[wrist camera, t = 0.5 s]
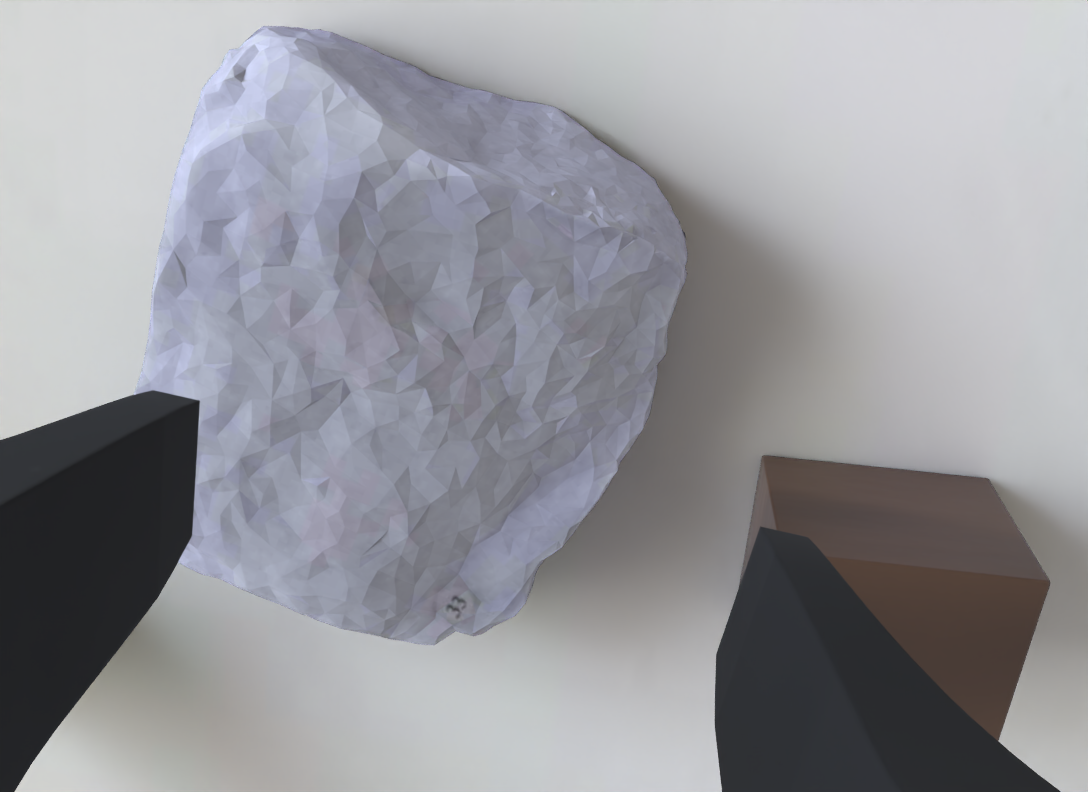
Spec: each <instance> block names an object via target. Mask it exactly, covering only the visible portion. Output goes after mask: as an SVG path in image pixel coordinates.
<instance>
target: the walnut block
mask: <svg viewBox="0 0 1088 792" xmlns="http://www.w3.org/2000/svg"><path fill="white" fill-rule="evenodd" d="M760 526H761V527H765V528H769V529H774V530H778V531H783V532H787V533H792V534H796V535H801V536H805V537H808V538H809V539H810V540H811V541H812V542H813V543H814V544H815V545H816V546H817V547H818V548H819V549H820V551H821V552H822V553H823V554H824V555H825V556H826V558H827V559H828V560H829V561H830V562H831V564H832V565H833V566H834V567H835V569H836V570H837V571H838V572H839V573H840V575H841V576H842V577H843V578H844V580H845V581H846V582H847V583H848V584H849V586H850V587H851V588H852V589H853V591H854V592H855V593H856V594H857V595H858V597H859V598H860V599H861V600H862V601H863V603H864V604H865V605H866V606H867V607H868V609H869V610H870V611H871V612H872V613H873V615H874V616H875V617H876V618H877V619H878V620H879V622H880V623H881V624H882V625H883V626H884V627H885V629H886V630H887V631H888V632H889V633H890V634H891V635H892V637H893V638H894V639H895V640H896V641H897V642H898V643H899V644H900V646H901V647H902V648H903V649H904V650H905V651H906V652H907V653H908V654H909V655H910V657H911V658H912V659H913V660H914V661H915V662H916V663H917V664H918V665H919V666H920V667H921V668H922V669H923V670H924V671H925V672H926V673H927V674H928V675H929V676H930V677H931V678H932V680H933V681H934V682H935V683H936V684H937V685H938V686H939V687H940V688H941V689H942V690H943V691H944V692H945V693H946V694H947V695H948V696H949V697H950V698H951V699H952V700H953V701H954V702H955V703H956V704H957V705H958V706H960V707H961V708H962V709H963V710H964V711H965V712H966V713H967V714H968V715H969V716H970V717H971V718H972V719H974V720H975V721H976V722H977V723H978V724H979V725H980V726H981V727H983V728H984V729H985V730H986V731H987V732H988V733H989V734H990V735H992V736H993V737H994V738H995V739H996V740H997V741H998V740H999V737H1000V734H1001V731H1002V728H1003V725H1004V722H1005V719H1006V716H1007V713H1008V710H1009V707H1010V704H1011V701H1012V698H1013V695H1014V692H1015V689H1016V686H1017V683H1018V680H1019V677H1020V674H1021V671H1022V668H1023V665H1024V662H1025V658H1026V655H1027V652H1028V649H1029V646H1030V643H1031V640H1032V637H1033V634H1034V631H1035V628H1036V625H1037V622H1038V619H1039V616H1040V613H1041V610H1042V607H1043V604H1044V601H1045V598H1046V595H1047V592H1048V589H1049V586H1050V581H1049V579H1048V577H1047V576H1046V574H1045V572H1044V571H1043V569H1042V567H1041V566H1040V564H1039V562H1038V561H1037V559H1036V557H1035V556H1034V554H1033V552H1032V551H1031V549H1030V547H1029V546H1028V544H1027V542H1026V541H1025V539H1024V537H1023V536H1022V534H1021V532H1020V531H1019V529H1018V527H1017V526H1016V524H1015V522H1014V521H1013V519H1012V517H1011V516H1010V514H1009V512H1008V511H1007V509H1006V507H1005V506H1004V504H1003V502H1002V501H1001V499H1000V497H999V496H998V494H997V492H996V491H995V489H994V487H993V486H992V484H991V482H990V481H989V479H987V478H978V477H968V476H959V475H949V474H939V473H929V472H920V471H910V470H900V469H891V468H881V467H871V466H862V465H852V464H842V463H832V462H823V461H813V460H803V459H794V458H784V457H774V456H765V455H764V456H762V459H761V465H760V471H759V476H758V482H757V488H756V493H755V499H754V505H753V511H752V516H751V522H750V528H749V533H748V539H747V545H746V551H745V556H744V562H743V568H742V574H741V579H740V584H741V581H742V578H743V575H744V572H745V569H746V566H747V564H748V561H749V558H750V555H751V552H752V549H753V546H754V543H755V540H756V537H757V534H758V531H759V528H760ZM739 587H740V585H739Z"/></svg>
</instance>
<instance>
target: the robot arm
mask: <svg viewBox="0 0 1088 792" xmlns="http://www.w3.org/2000/svg"><path fill="white" fill-rule="evenodd" d="M199 408H200V400H195V399H191V398H186V397H182V396H177V395H173V394H168V393H164V392H159V391H155V390H151V391H147V392H143V393H139V394H135V395H132V396H128V397H125V398H122V399H119V400H116V401H113V402H110V403H107V404H104V405H101V406H99V407H96V408H93V409H90V410H87V411H84V412H82V413H79V414H76V415H73V416H70V417H67V418H64V419H62V420H59V421H56V422H53V423H50V424H47V425H44V426H41V427H39V428H36V429H33V430H30V431H27V432H24V433H21V434H18V435H15V436H12V437H9V438H6V439H3V440H0V792H14V791H15V790H16V788H17V786H18V785H19V783H20V782H21V780H22V778H23V777H24V775H25V774H26V772H27V770H28V769H29V767H30V765H31V764H32V762H33V761H34V760H35V758H36V757H37V755H38V754H39V752H40V751H41V750H42V748H43V747H44V745H45V744H46V743H47V741H48V740H49V738H50V737H51V736H52V734H53V733H54V731H55V730H56V729H57V727H58V726H59V725H60V724H61V722H62V721H63V720H64V718H65V717H66V716H67V715H68V713H69V712H70V711H71V709H72V708H73V707H74V706H75V704H76V703H77V702H78V700H79V699H80V698H81V697H82V695H83V694H84V693H85V691H86V690H87V689H88V688H89V686H90V685H91V684H92V682H93V681H94V680H95V679H96V677H97V676H98V675H99V674H100V672H101V671H102V670H103V668H104V667H105V666H106V665H107V663H108V662H109V661H110V659H111V658H112V657H113V656H114V654H115V653H116V652H117V650H118V649H119V648H120V647H121V645H122V644H123V643H124V641H125V640H126V639H127V637H128V636H129V635H130V634H131V632H132V631H133V630H134V628H135V627H136V626H137V624H138V623H139V622H140V620H141V619H142V618H143V616H144V615H145V614H146V613H147V611H148V610H149V609H150V607H151V606H152V604H153V603H154V602H155V600H156V599H157V598H158V596H159V594H160V593H161V591H162V589H163V587H164V586H165V584H166V582H167V581H168V579H169V577H170V575H171V574H172V572H173V570H174V568H175V567H176V565H177V563H178V561H179V559H180V557H181V556H182V554H183V552H184V550H185V548H186V546H187V544H188V543H189V541H190V539H191V537H192V529H193V512H194V495H195V477H196V460H197V443H198V425H199ZM715 731H716V740H717V749H718V758H719V767H720V776H721V785H722V792H1061V791H1059V790H1058V789H1057V788H1055V787H1054V786H1053V785H1051V784H1050V783H1049V782H1047V781H1046V780H1045V779H1043V778H1042V777H1041V776H1039V775H1038V774H1037V773H1036V772H1034V771H1033V770H1032V769H1031V768H1029V767H1028V766H1027V765H1026V764H1024V763H1023V762H1022V761H1021V760H1019V759H1018V758H1017V757H1016V756H1015V755H1013V754H1012V753H1011V752H1010V751H1009V750H1007V749H1006V748H1005V747H1004V746H1003V745H1002V744H1001V743H1000V742H998V741H997V740H996V739H995V738H994V737H993V736H992V735H990V734H989V733H988V732H987V731H986V730H985V729H984V728H983V727H981V726H980V725H979V724H978V723H977V722H976V721H975V720H974V719H972V718H971V717H970V716H969V715H968V714H967V713H966V712H965V711H964V710H963V709H962V708H961V707H960V706H958V705H957V704H956V703H955V702H954V701H953V700H952V699H951V698H950V697H949V696H948V695H947V694H946V693H945V692H944V691H943V690H942V689H941V688H940V687H939V686H938V685H937V684H936V683H935V682H934V681H933V680H932V678H931V677H930V676H929V675H928V674H927V673H926V672H925V671H924V670H923V669H922V668H921V667H920V666H919V665H918V664H917V663H916V662H915V661H914V660H913V659H912V658H911V657H910V655H909V654H908V653H907V652H906V651H905V650H904V649H903V648H902V647H901V646H900V644H899V643H898V642H897V641H896V640H895V639H894V638H893V637H892V635H891V634H890V633H889V632H888V631H887V630H886V629H885V627H884V626H883V625H882V624H881V623H880V622H879V620H878V619H877V618H876V617H875V616H874V615H873V613H872V612H871V611H870V610H869V609H868V607H867V606H866V605H865V604H864V603H863V601H862V600H861V599H860V598H859V597H858V595H857V594H856V593H855V592H854V591H853V589H852V588H851V587H850V586H849V584H848V583H847V582H846V581H845V580H844V578H843V577H842V576H841V575H840V573H839V572H838V571H837V570H836V569H835V567H834V566H833V565H832V564H831V562H830V561H829V560H828V559H827V558H826V556H825V555H824V554H823V553H822V552H821V551H820V549H819V548H818V547H817V546H816V545H815V544H814V543H813V542H812V541H811V540H810V539H809V538H808V537H805V536H801V535H796V534H792V533H787V532H783V531H778V530H774V529H769V528H765V527H761V526H760V528H759V531H758V534H757V537H756V540H755V543H754V546H753V549H752V552H751V555H750V558H749V561H748V564H747V566H746V569H745V572H744V575H743V578H742V581H741V584H740V587H739V590H738V593H737V596H736V599H735V602H734V604H733V607H732V610H731V613H730V616H729V619H728V622H727V625H726V628H725V631H724V634H723V637H722V639H721V642H720V645H719V648H718V651H717V654H716V683H715Z"/></svg>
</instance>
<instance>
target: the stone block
mask: <svg viewBox="0 0 1088 792" xmlns="http://www.w3.org/2000/svg"><path fill="white" fill-rule="evenodd" d="M687 257H688V252H687V248H686V241H685V233H684V232H683V231H682V229H681V227H680V222H679V220H678V219H677V217H676V216H675V214H674V213H673V211H672V208H671V205H670V204H669V202H668V201H667V199H666V198H665V197H664V195H663V194H662V192H661V191H660V189H659V187H658V185H657V182H656V180H655V179H654V178H652V177H651V176H650V175H648V174H647V173H646V172H645V171H644V170H642V169H641V168H640V167H639V166H638V165H637V164H635V163H633V162H631V161H629V160H628V159H626V158H624V157H622V156H620V155H619V154H618V153H616V152H615V151H614V150H613V149H611V148H610V147H609V146H607V145H606V144H604V143H603V142H601V141H599V140H598V139H596V138H595V137H594V136H593V135H592V134H591V133H590V132H589V131H588V130H587V129H585V128H584V127H583V126H581V125H580V124H578V123H577V122H576V121H574V120H573V119H572V118H570V117H569V116H568V115H566V114H565V113H564V112H562V111H561V110H560V109H558V108H556V107H552V106H547V105H543V104H539V103H535V102H526V101H517V100H512V99H509V98H506V97H503V96H500V95H497V94H494V93H491V92H487V91H484V90H477V89H470V88H467V87H464V86H460V85H457V84H454V83H451V82H448V81H445V80H442V79H439V78H436V77H433V76H430V75H427V74H425V73H424V72H423V71H421V70H420V69H418V68H417V67H415V66H412V65H410V64H407V63H404V62H402V61H399V60H396V59H393V58H391V57H388V56H385V55H383V54H381V53H379V52H377V51H375V50H373V49H371V48H369V47H367V46H364V45H362V44H359V43H357V42H354V41H352V40H349V39H346V38H344V37H342V36H339V35H337V34H334V33H332V32H327V31H322V30H320V29H318V30H308V29H303V28H291V27H284V26H263V27H261V28H260V29H258V30H257V31H256V32H255V33H254V34H253V35H252V36H250V37H249V38H248V39H247V40H246V41H245V42H244V43H243V44H242V45H241V47H240V48H238V49H232V50H229V51H228V53H227V54H226V55H225V57H224V59H223V62H222V65H221V67H220V68H219V69H218V70H217V72H216V73H215V74H213V75H212V77H211V78H210V79H209V80H208V82H207V83H206V84H205V86H204V87H203V88H202V91H201V95H200V99H199V103H198V106H197V109H196V111H195V114H194V118H193V121H192V125H191V129H190V132H189V134H188V137H187V139H186V142H185V145H184V147H183V151H182V154H181V157H180V160H179V163H178V166H177V170H176V173H175V176H174V180H173V184H172V188H171V194H170V199H169V204H168V210H167V216H166V221H165V227H164V232H163V235H162V239H161V242H160V246H159V252H158V258H157V264H156V270H155V277H154V283H153V290H152V302H151V320H150V328H149V336H148V342H147V347H146V352H145V357H144V363H143V368H142V373H141V375H140V378H139V381H138V384H137V387H136V389H135V392H134V395H135V394H139V393H143V392H147V391H151V390H155V391H159V392H164V393H168V394H173V395H177V396H182V397H186V398H191V399H195V400H200V408H199V425H198V443H197V460H196V477H195V495H194V512H193V529H192V537H191V539H190V541H189V543H188V544H187V546H186V548H185V550H184V552H183V554H182V556H181V557H180V559H179V561H178V562H179V563H181V564H182V565H184V566H186V567H188V568H190V569H192V570H194V571H196V572H198V573H200V574H204V575H207V576H211V577H215V578H219V579H221V580H223V581H225V582H227V583H229V584H231V585H233V586H235V587H238V588H240V589H242V590H245V591H247V592H250V593H252V594H254V595H257V596H259V597H262V598H264V599H267V600H270V601H272V602H275V603H277V604H280V605H282V606H284V607H287V608H289V609H291V610H293V611H295V612H298V613H300V614H302V615H307V616H309V617H311V618H313V619H316V620H318V621H321V622H324V623H327V624H329V625H332V626H335V627H338V628H341V629H346V630H351V631H356V632H361V633H366V634H372V635H377V636H381V637H384V638H388V639H393V640H401V641H406V642H411V643H415V644H424V645H435V644H437V643H438V642H440V641H441V640H443V639H444V638H446V637H448V636H449V635H451V634H452V633H454V632H455V631H457V632H460V633H464V634H468V635H471V636H476V635H479V634H483V633H484V632H486V631H487V630H489V629H490V628H492V627H493V626H495V625H497V624H499V623H501V622H503V621H505V620H507V619H510V618H512V617H514V616H515V615H516V614H517V613H518V612H519V610H520V609H521V608H522V607H523V605H524V604H525V603H526V600H527V598H528V596H529V593H530V591H531V588H532V586H533V582H534V577H535V574H536V572H537V570H538V568H539V566H540V565H541V564H542V562H543V561H544V560H545V559H546V558H547V557H548V556H550V555H552V554H554V553H555V552H556V551H558V550H559V549H561V548H562V547H563V546H564V544H565V543H566V542H567V541H568V540H569V538H570V537H571V536H572V535H573V533H574V532H575V530H576V529H577V528H578V526H579V525H580V523H581V522H582V521H583V519H584V518H585V517H586V516H587V515H588V514H589V513H590V511H591V510H592V509H593V508H594V507H595V505H596V504H597V502H598V501H599V499H600V498H601V496H602V495H603V494H604V492H605V490H606V489H607V487H608V485H609V483H610V482H611V480H612V478H613V477H614V475H615V474H616V472H617V471H618V467H619V463H620V462H621V460H622V459H623V458H624V456H625V455H626V454H627V452H628V451H629V450H630V448H631V447H632V445H633V443H634V442H635V440H636V439H637V437H638V436H639V434H640V433H641V431H642V430H643V428H644V426H645V423H646V421H647V419H648V417H649V415H650V410H651V406H652V401H653V394H654V389H655V385H656V380H657V364H658V363H659V362H660V361H661V360H662V359H663V357H664V356H665V354H666V351H667V330H668V325H669V321H670V319H671V317H672V314H673V311H674V308H675V306H676V302H677V299H678V295H679V293H680V291H681V289H682V287H683V285H684V283H685V280H686V276H687V272H686V269H685V264H686V263H687Z"/></svg>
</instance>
